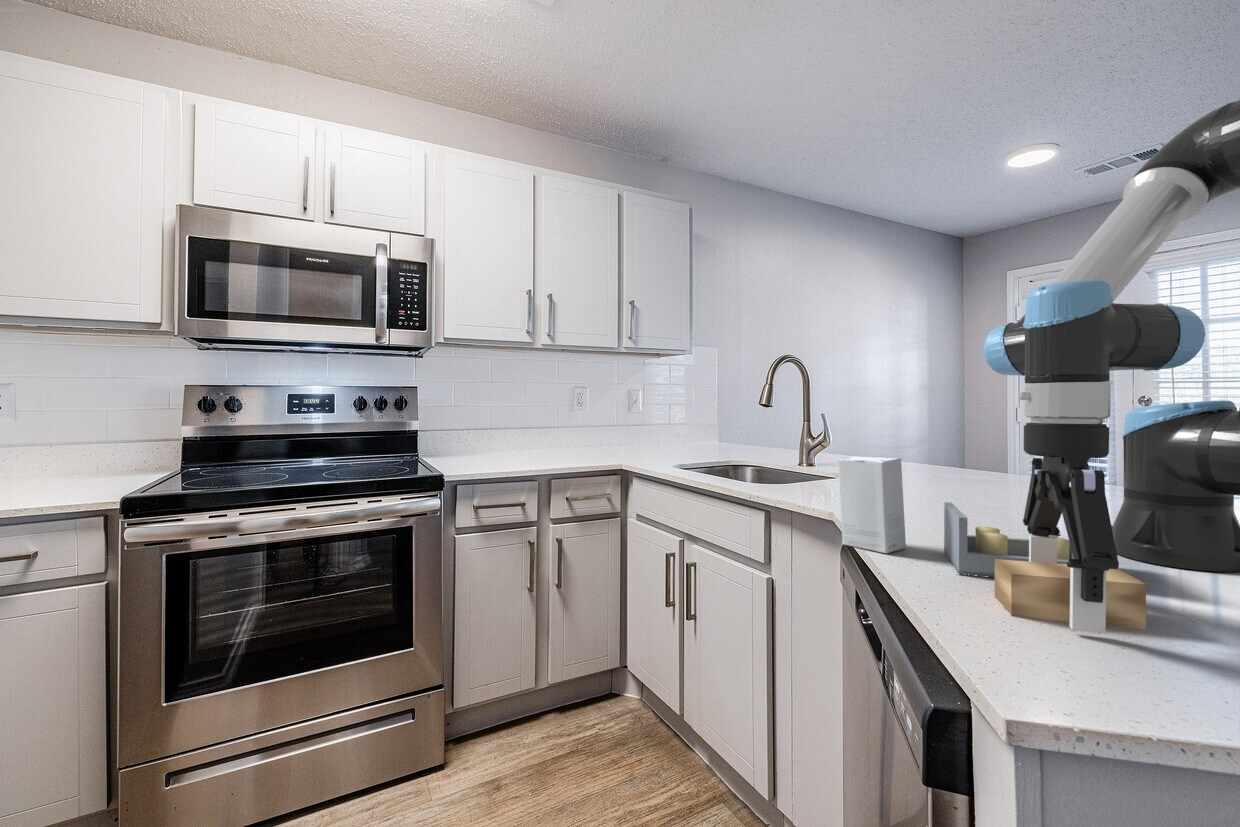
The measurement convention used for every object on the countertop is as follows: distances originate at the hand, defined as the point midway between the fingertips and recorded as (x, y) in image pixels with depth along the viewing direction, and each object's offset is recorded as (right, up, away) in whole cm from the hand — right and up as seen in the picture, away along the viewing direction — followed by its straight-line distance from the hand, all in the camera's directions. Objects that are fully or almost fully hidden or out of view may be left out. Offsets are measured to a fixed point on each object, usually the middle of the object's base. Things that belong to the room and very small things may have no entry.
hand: (1062, 607), depth 63 cm
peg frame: (+7, 0, +16) cm, 17 cm away
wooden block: (0, -1, 0) cm, 1 cm away
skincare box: (-9, 0, +29) cm, 30 cm away
